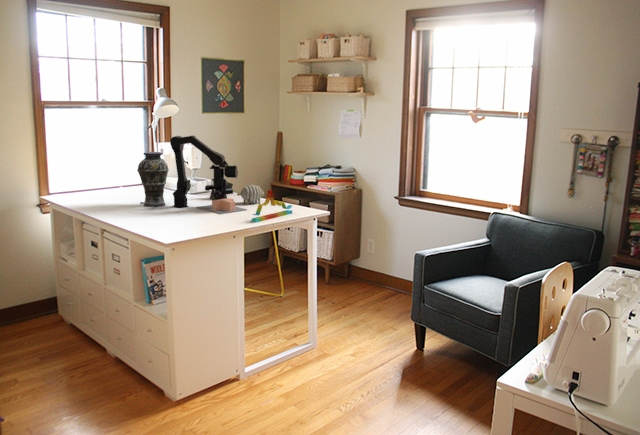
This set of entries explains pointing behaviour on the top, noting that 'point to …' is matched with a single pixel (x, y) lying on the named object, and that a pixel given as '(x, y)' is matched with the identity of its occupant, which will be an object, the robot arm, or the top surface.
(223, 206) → the t block
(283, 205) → the multicoloured triangular frame
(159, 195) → the vase
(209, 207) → the mat
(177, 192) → the robot arm
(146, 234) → the top surface
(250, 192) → the toy sheep
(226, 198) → the phone stand
